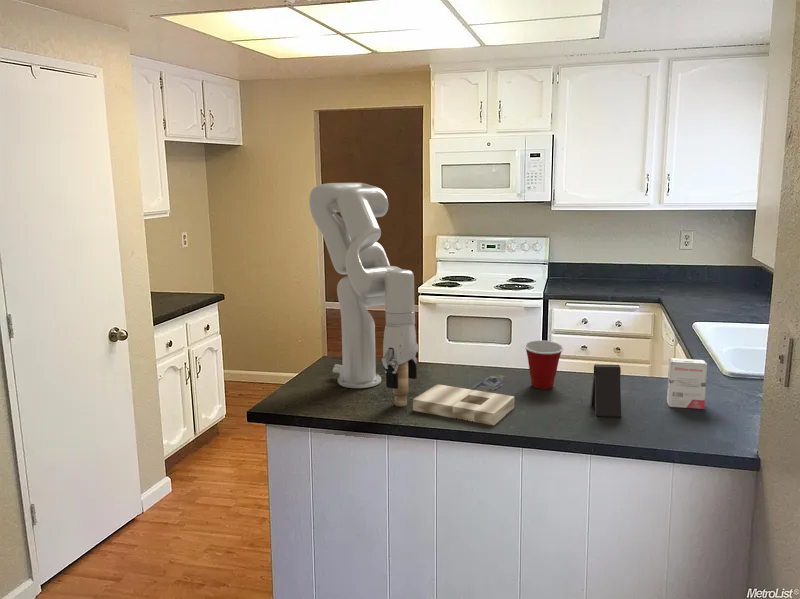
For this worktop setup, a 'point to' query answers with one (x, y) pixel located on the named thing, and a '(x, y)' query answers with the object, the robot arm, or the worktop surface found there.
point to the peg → (401, 385)
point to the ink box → (686, 383)
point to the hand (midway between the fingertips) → (401, 382)
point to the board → (464, 404)
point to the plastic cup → (543, 362)
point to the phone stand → (606, 391)
